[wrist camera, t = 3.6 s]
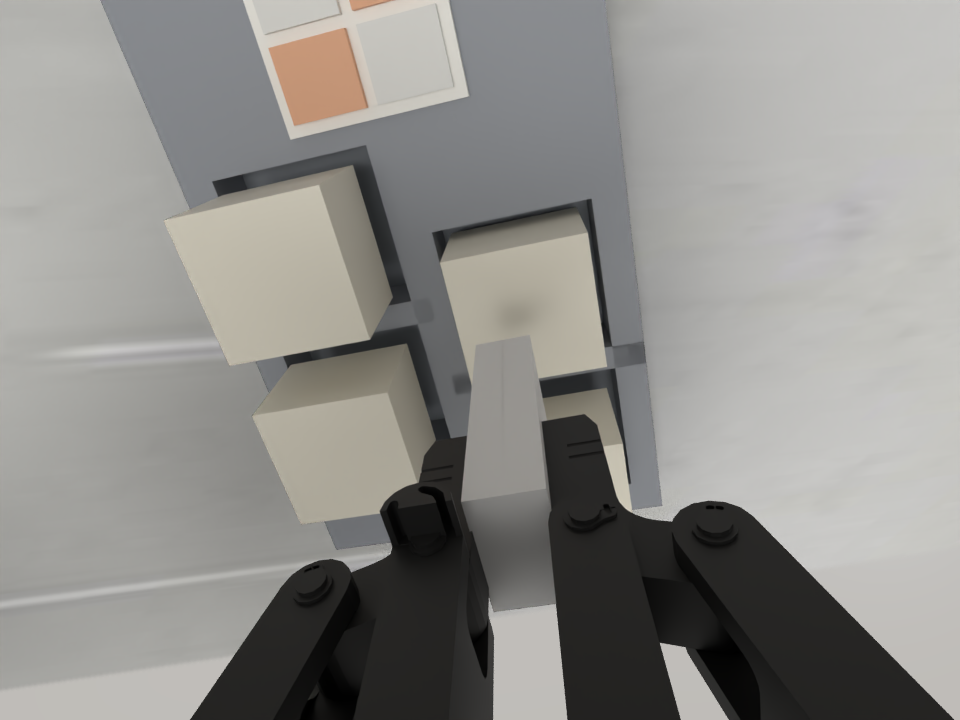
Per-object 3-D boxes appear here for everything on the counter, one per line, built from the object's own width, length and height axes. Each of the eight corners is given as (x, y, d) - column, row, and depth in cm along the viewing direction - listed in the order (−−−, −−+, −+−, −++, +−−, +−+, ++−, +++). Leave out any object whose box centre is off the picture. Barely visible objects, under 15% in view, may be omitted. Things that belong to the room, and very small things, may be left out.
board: (355, 497, 33) (332, 560, 29) (155, -14, 23) (72, -33, 18) (645, 454, 31) (665, 515, 27) (572, -137, 20) (587, -191, 16)
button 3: (478, 344, 26) (472, 389, 22) (451, 233, 24) (439, 262, 20) (593, 324, 25) (607, 366, 21) (576, 207, 23) (587, 232, 19)
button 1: (509, 500, 27) (509, 567, 23) (486, 407, 25) (481, 464, 21) (621, 485, 26) (638, 551, 22) (606, 387, 24) (622, 443, 20)
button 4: (273, 320, 23) (229, 366, 20) (222, 195, 21) (163, 220, 18) (392, 297, 23) (370, 339, 19) (352, 165, 21) (318, 184, 17)
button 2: (330, 462, 26) (301, 524, 23) (290, 364, 24) (251, 416, 21) (437, 445, 26) (425, 507, 22) (406, 343, 24) (387, 392, 20)
